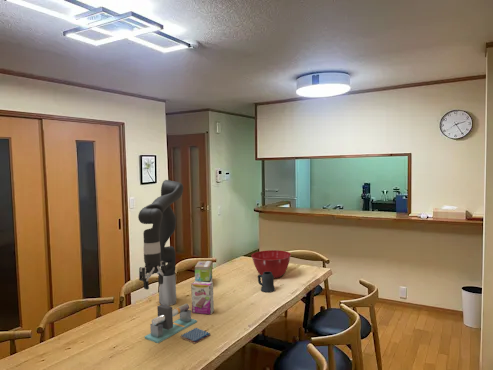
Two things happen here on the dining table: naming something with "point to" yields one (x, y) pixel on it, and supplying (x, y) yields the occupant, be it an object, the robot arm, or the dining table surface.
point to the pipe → (157, 327)
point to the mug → (267, 282)
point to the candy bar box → (202, 297)
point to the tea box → (203, 271)
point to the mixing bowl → (271, 262)
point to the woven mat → (195, 335)
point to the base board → (171, 330)
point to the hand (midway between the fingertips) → (153, 286)
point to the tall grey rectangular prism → (166, 316)
